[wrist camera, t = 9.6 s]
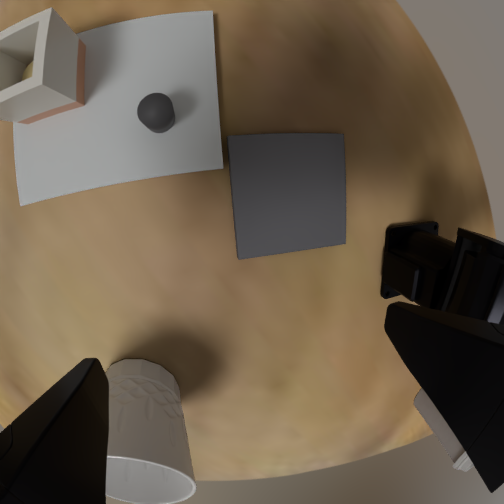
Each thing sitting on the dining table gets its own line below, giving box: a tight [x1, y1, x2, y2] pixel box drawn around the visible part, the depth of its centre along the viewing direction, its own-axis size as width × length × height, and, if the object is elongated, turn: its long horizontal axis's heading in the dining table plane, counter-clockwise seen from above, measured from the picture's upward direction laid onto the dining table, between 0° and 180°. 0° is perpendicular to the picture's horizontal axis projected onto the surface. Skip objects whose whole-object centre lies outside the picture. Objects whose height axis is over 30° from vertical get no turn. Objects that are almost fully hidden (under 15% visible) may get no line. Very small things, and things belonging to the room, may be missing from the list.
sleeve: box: [0, 7, 86, 124], centre depth 9 cm, size 4×4×6 cm
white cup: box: [105, 359, 197, 504], centre depth 17 cm, size 8×8×10 cm
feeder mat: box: [227, 133, 346, 260], centre depth 19 cm, size 8×8×1 cm
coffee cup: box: [414, 388, 474, 472], centre depth 26 cm, size 10×10×15 cm
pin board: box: [13, 11, 223, 206], centre depth 13 cm, size 14×11×4 cm
